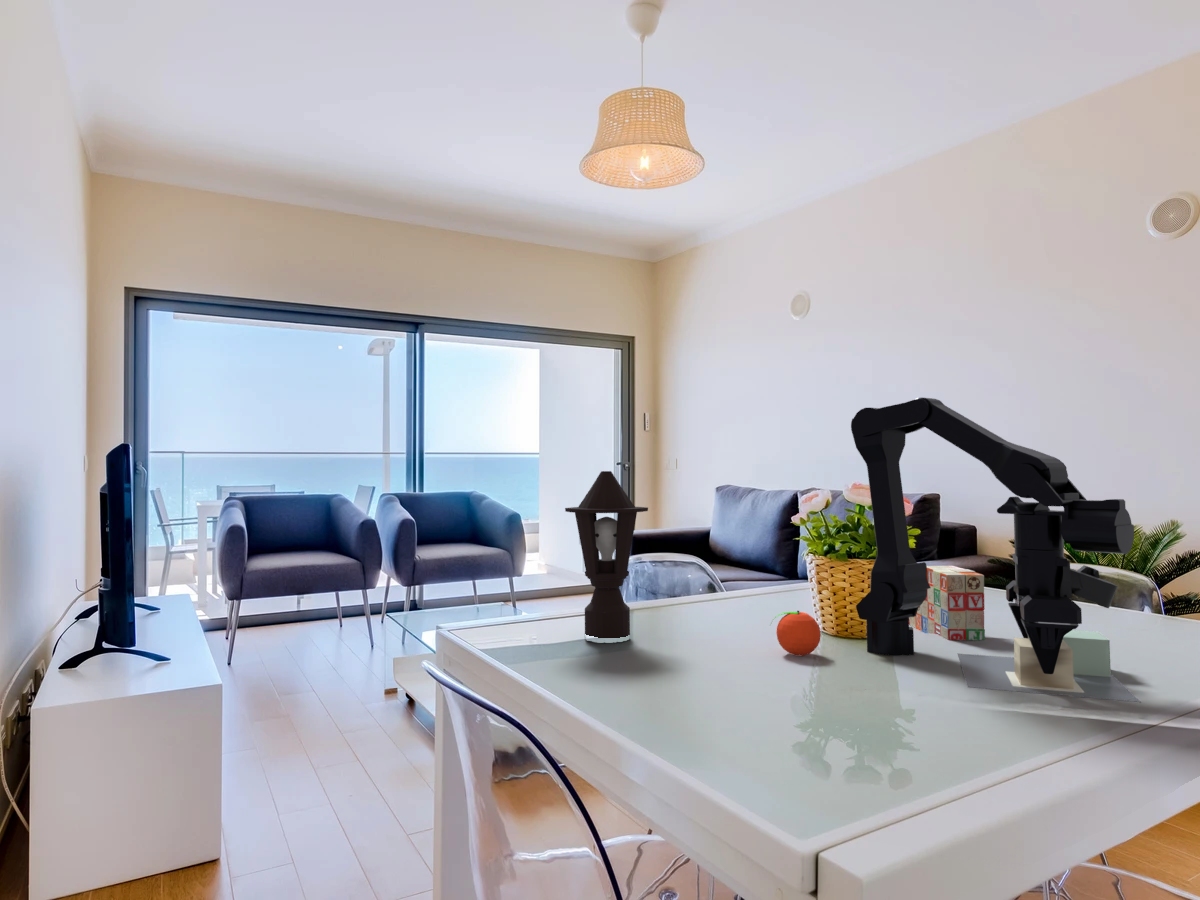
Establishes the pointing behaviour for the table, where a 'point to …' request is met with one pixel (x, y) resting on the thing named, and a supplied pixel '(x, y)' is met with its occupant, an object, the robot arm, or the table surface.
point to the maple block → (1031, 670)
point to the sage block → (1089, 652)
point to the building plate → (1002, 677)
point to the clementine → (798, 633)
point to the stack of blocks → (952, 604)
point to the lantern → (606, 554)
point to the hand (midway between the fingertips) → (1042, 665)
